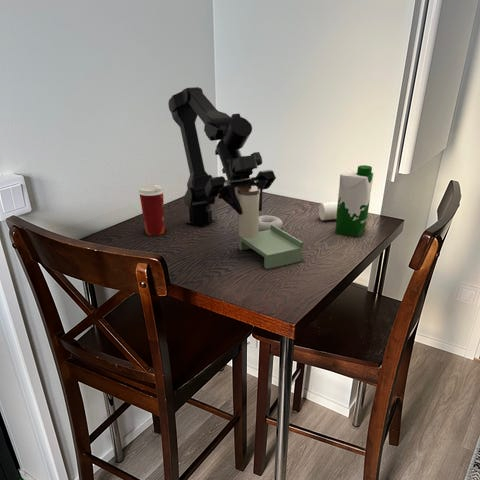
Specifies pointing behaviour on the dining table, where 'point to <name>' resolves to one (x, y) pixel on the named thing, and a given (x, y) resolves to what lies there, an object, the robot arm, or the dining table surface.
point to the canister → (248, 211)
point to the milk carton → (354, 200)
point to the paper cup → (152, 208)
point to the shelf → (274, 247)
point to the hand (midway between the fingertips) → (251, 212)
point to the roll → (328, 211)
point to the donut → (269, 222)
